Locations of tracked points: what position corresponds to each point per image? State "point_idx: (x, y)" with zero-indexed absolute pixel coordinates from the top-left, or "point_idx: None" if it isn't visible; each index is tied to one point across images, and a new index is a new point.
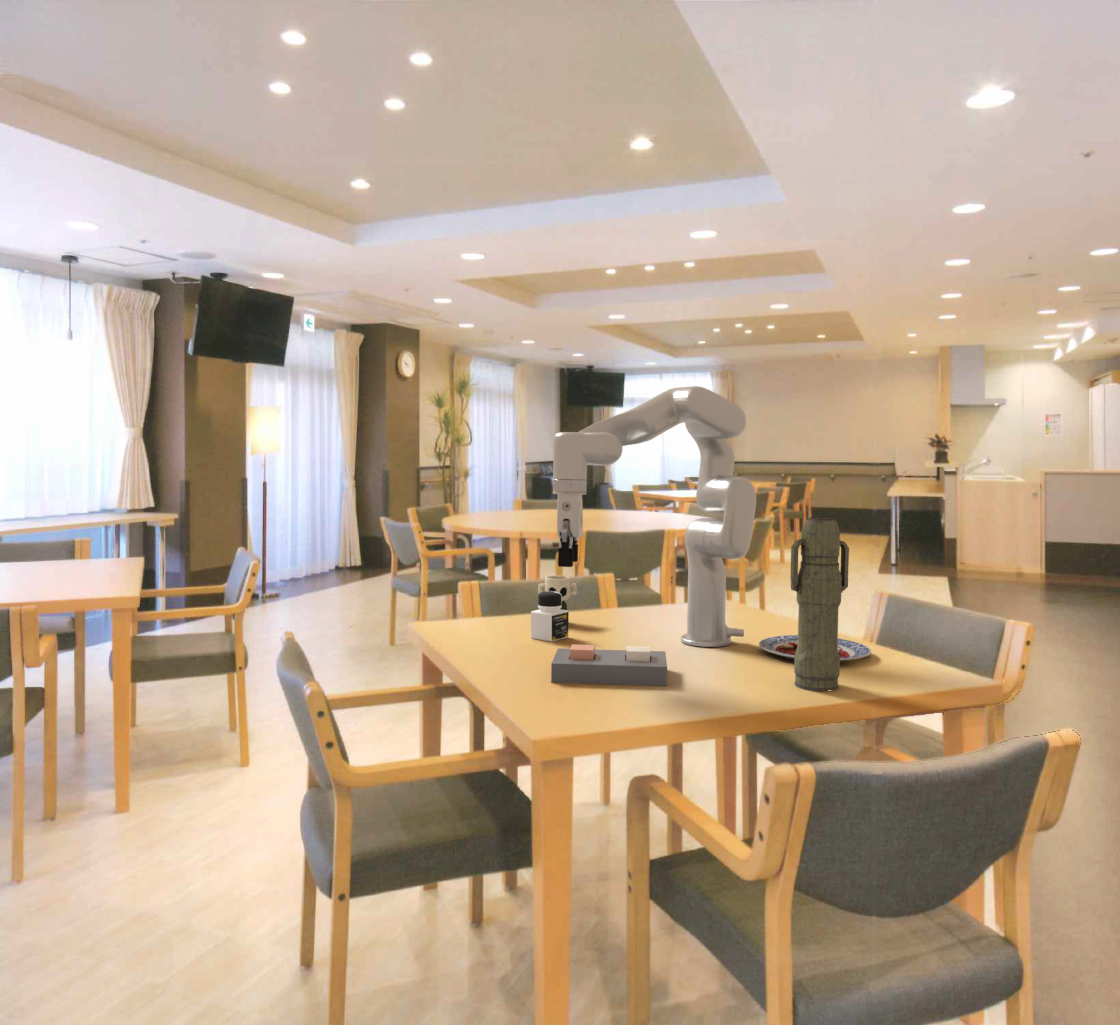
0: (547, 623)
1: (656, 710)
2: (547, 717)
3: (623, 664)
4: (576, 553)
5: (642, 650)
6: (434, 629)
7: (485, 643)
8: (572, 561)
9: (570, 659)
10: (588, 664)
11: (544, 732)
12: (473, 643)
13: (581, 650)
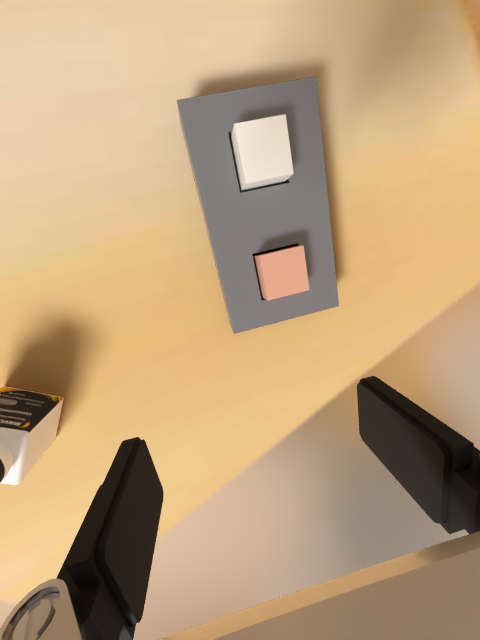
0: (40, 429)
1: (431, 102)
2: (468, 250)
3: (317, 178)
4: (127, 482)
5: (276, 136)
6: None
7: None
8: (391, 389)
9: None
10: (332, 244)
11: None
12: None
13: (305, 268)
